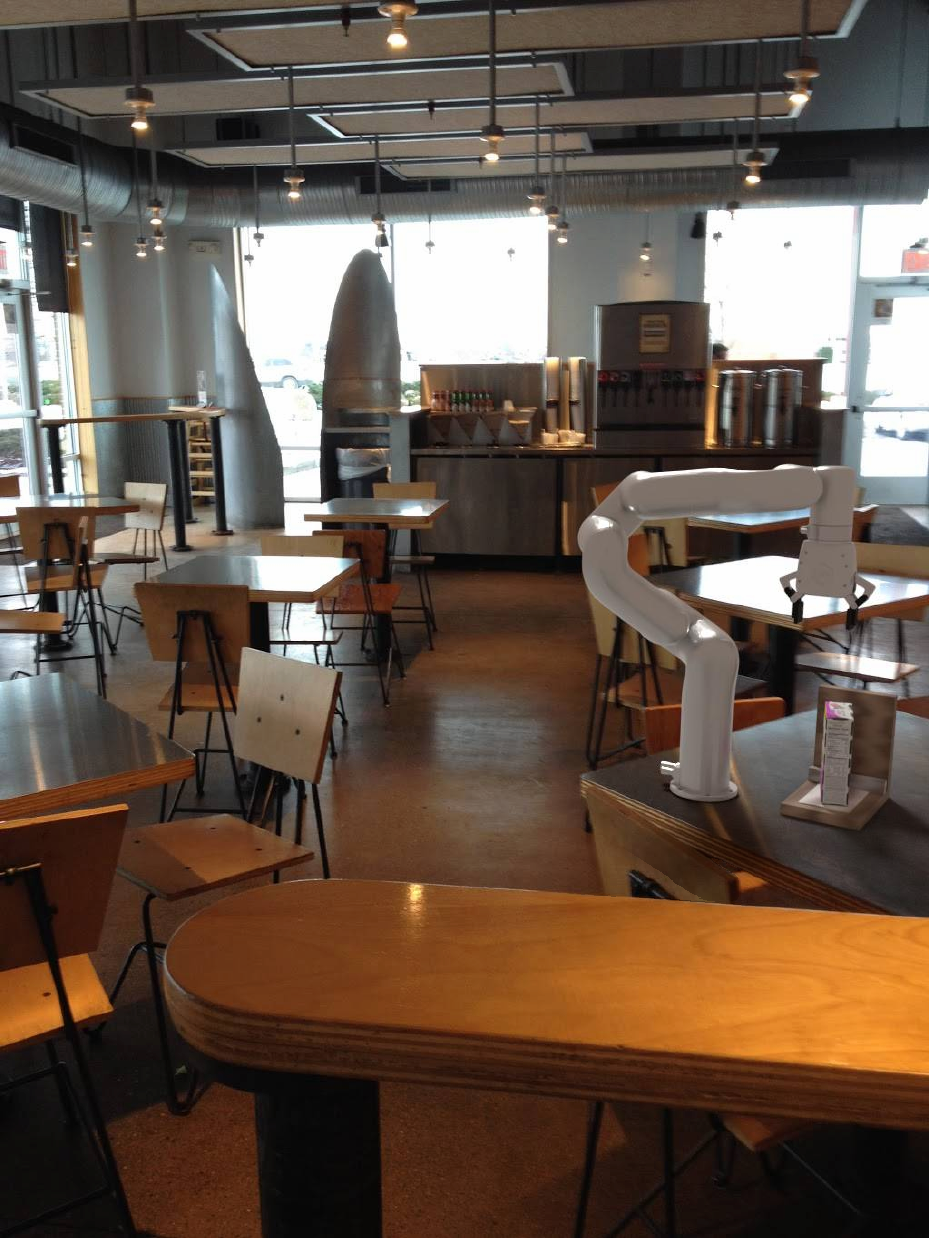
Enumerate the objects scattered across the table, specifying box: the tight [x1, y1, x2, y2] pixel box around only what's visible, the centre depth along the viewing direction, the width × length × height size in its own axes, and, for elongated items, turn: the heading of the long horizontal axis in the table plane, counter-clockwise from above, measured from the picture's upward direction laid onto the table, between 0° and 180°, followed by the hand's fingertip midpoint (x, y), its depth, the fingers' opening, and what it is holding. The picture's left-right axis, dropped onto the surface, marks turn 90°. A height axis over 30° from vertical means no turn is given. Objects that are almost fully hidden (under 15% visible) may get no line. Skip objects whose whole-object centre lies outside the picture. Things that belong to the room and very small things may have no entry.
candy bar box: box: [820, 701, 854, 806], centre depth 201 cm, size 11×5×16 cm, turn 163°
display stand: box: [779, 683, 899, 832], centre depth 202 cm, size 14×20×20 cm
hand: (823, 625), depth 205 cm, fingers open, 9 cm apart
